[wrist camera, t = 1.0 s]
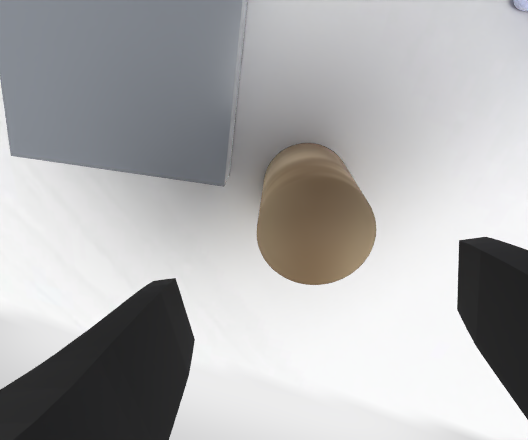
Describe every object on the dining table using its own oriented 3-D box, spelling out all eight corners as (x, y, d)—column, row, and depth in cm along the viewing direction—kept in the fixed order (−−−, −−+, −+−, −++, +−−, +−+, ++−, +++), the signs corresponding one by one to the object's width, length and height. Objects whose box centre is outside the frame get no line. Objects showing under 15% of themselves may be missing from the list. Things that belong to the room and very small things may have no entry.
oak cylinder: (357, 149, 18) (390, 186, 13) (338, 229, 20) (360, 292, 15) (270, 137, 18) (265, 168, 13) (258, 217, 20) (250, 276, 15)
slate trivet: (253, -58, 15) (249, -75, 13) (229, 174, 19) (224, 186, 17) (11, -96, 15) (-27, -118, 13) (37, 146, 19) (11, 155, 17)
